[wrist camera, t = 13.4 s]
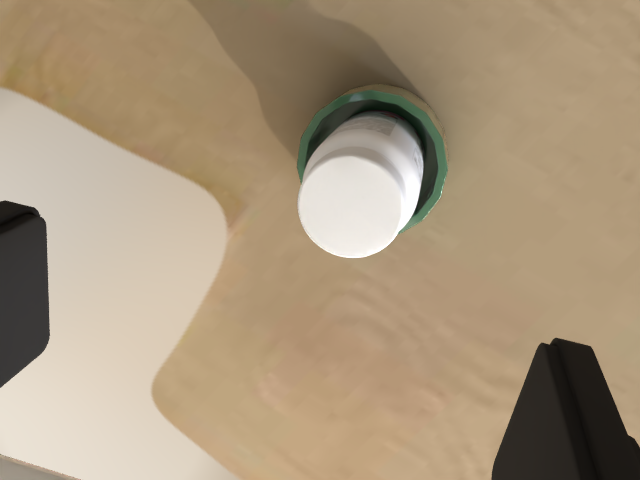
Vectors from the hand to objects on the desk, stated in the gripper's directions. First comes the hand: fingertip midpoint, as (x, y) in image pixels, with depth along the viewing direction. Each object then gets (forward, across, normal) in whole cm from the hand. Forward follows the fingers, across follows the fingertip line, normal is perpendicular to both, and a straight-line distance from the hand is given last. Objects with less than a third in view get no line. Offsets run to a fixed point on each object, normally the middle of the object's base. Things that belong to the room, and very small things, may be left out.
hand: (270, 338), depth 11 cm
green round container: (+20, 0, +1) cm, 20 cm away
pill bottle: (+20, 0, +1) cm, 20 cm away
